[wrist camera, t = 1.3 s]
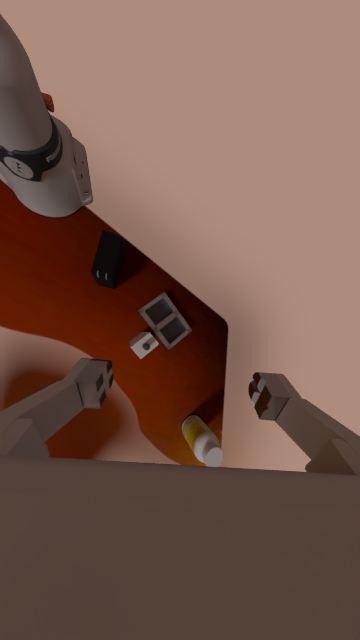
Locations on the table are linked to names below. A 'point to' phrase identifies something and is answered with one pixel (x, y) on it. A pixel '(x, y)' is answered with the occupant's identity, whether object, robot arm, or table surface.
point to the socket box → (165, 321)
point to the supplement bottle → (202, 441)
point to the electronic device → (108, 259)
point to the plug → (143, 344)
